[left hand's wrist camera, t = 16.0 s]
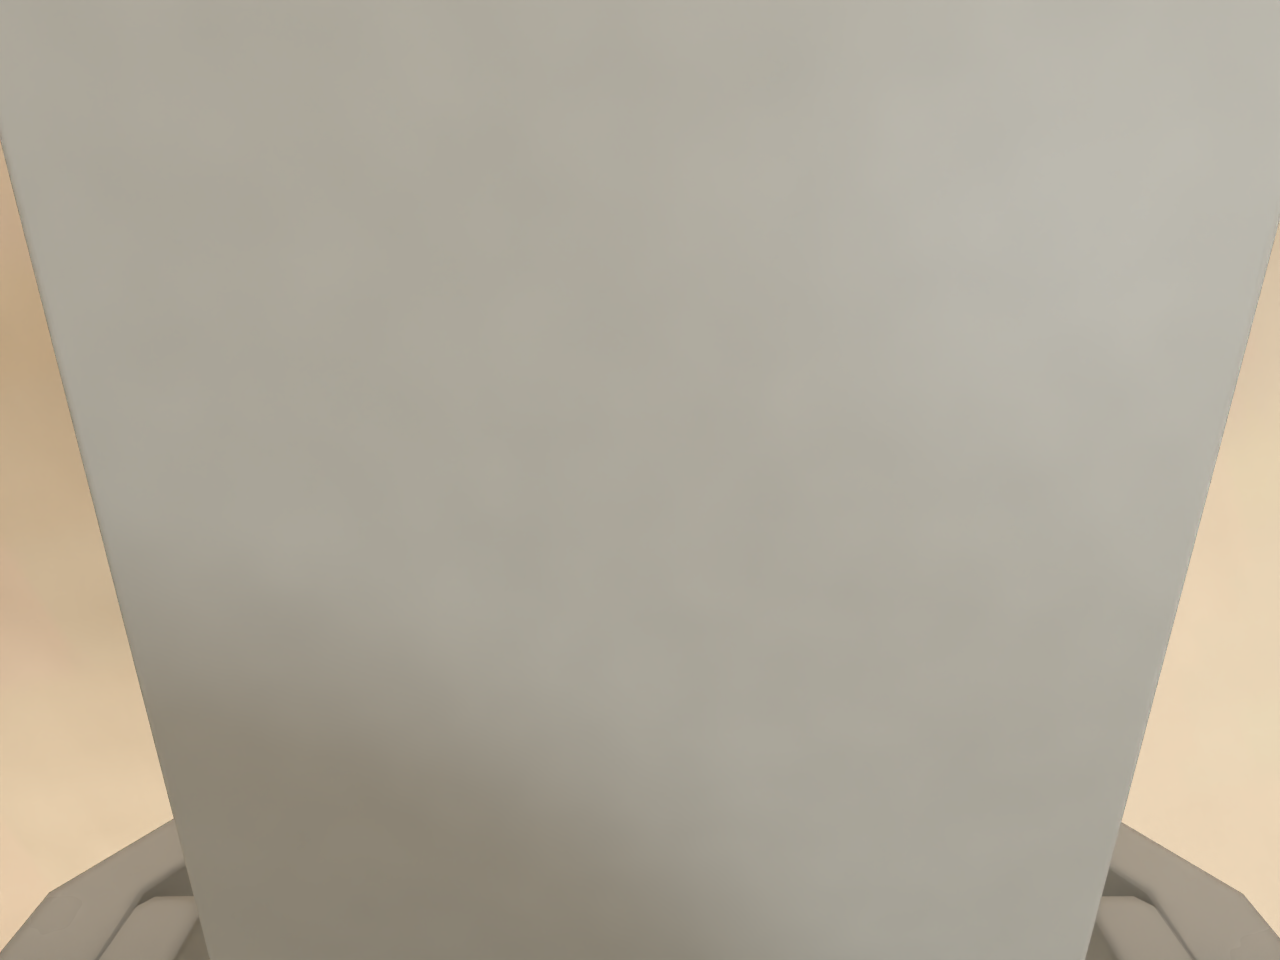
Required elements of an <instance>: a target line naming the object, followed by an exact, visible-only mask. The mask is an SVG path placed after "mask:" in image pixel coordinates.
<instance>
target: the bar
mask: <svg viewBox="0 0 1280 960" xmlns="http://www.w3.org/2000/svg"><path fill="white" fill-rule="evenodd" d="M0 141H1V145H2V149H3V153H4V156H5V160H6V164H7V168H8V172H9V176H10V180H11V184H12V188H13V192H14V196H15V199H16V203H17V207H18V211H19V215H20V219H21V223H22V227H23V231H24V235H25V239H26V242H27V246H28V250H29V254H30V258H31V262H32V266H33V270H34V274H35V278H36V282H37V285H38V289H39V293H40V297H41V301H42V305H43V309H44V313H45V317H46V321H47V325H48V328H49V332H50V336H51V340H52V344H53V348H54V352H55V356H56V360H57V364H58V368H59V371H60V375H61V379H62V383H63V387H64V391H65V395H66V399H67V403H68V407H69V411H70V414H71V418H72V422H73V426H74V430H75V434H76V438H77V442H78V446H79V450H80V454H81V457H82V461H83V465H84V469H85V473H86V477H87V481H88V485H89V489H90V493H91V497H92V500H93V504H94V508H95V512H96V516H97V520H98V524H99V528H100V532H101V536H102V540H103V543H104V547H105V551H106V555H107V559H108V563H109V567H110V571H111V575H112V579H113V583H114V586H115V590H116V594H117V598H118V602H119V606H120V610H121V614H122V618H123V622H124V626H125V629H126V633H127V637H128V641H129V645H130V649H131V653H132V657H133V661H134V665H135V669H136V672H137V676H138V680H139V684H140V688H141V692H142V696H143V700H144V704H145V708H146V712H147V715H148V719H149V723H150V727H151V731H152V735H153V739H154V743H155V747H156V751H157V755H158V759H159V762H160V766H161V770H162V774H163V778H164V782H165V786H166V790H167V794H168V798H169V802H170V805H171V809H172V813H173V817H174V821H175V825H176V829H177V833H178V837H179V841H180V845H181V848H182V852H183V856H184V860H185V864H186V868H187V872H188V876H189V880H190V884H191V888H192V891H193V895H194V899H195V903H196V907H197V911H198V915H199V919H200V923H201V927H202V931H203V934H204V938H205V942H206V946H207V950H208V954H209V958H210V960H1085V958H1086V954H1087V950H1088V946H1089V943H1090V939H1091V935H1092V931H1093V927H1094V924H1095V920H1096V916H1097V912H1098V908H1099V905H1100V901H1101V897H1102V893H1103V889H1104V886H1105V882H1106V878H1107V874H1108V870H1109V866H1110V863H1111V859H1112V855H1113V851H1114V847H1115V844H1116V840H1117V836H1118V832H1119V828H1120V825H1121V821H1122V817H1123V813H1124V809H1125V806H1126V802H1127V798H1128V794H1129V790H1130V787H1131V783H1132V779H1133V775H1134V771H1135V768H1136V764H1137V760H1138V756H1139V752H1140V749H1141V745H1142V741H1143V737H1144V733H1145V730H1146V726H1147V722H1148V718H1149V714H1150V711H1151V707H1152V703H1153V699H1154V695H1155V692H1156V688H1157V684H1158V680H1159V676H1160V672H1161V669H1162V665H1163V661H1164V657H1165V653H1166V650H1167V646H1168V642H1169V638H1170V634H1171V631H1172V627H1173V623H1174V619H1175V615H1176V612H1177V608H1178V604H1179V600H1180V596H1181V593H1182V589H1183V585H1184V581H1185V577H1186V574H1187V570H1188V566H1189V562H1190V558H1191V555H1192V551H1193V547H1194V543H1195V539H1196V536H1197V532H1198V528H1199V524H1200V520H1201V517H1202V513H1203V509H1204V505H1205V501H1206V498H1207V494H1208V490H1209V486H1210V482H1211V478H1212V475H1213V471H1214V467H1215V463H1216V459H1217V456H1218V452H1219V448H1220V444H1221V440H1222V437H1223V433H1224V429H1225V425H1226V421H1227V418H1228V414H1229V410H1230V406H1231V402H1232V399H1233V395H1234V391H1235V387H1236V383H1237V380H1238V376H1239V372H1240V368H1241V364H1242V361H1243V357H1244V353H1245V349H1246V345H1247V342H1248V338H1249V334H1250V330H1251V326H1252V323H1253V319H1254V315H1255V311H1256V307H1257V304H1258V300H1259V296H1260V292H1261V288H1262V284H1263V281H1264V277H1265V273H1266V269H1267V265H1268V262H1269V258H1270V254H1271V250H1272V246H1273V243H1274V239H1275V235H1276V231H1277V227H1278V224H1279V220H1280V0H0Z"/></svg>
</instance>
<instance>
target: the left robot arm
mask: <svg viewBox="0 0 1280 960" xmlns="http://www.w3.org/2000/svg"><path fill="white" fill-rule="evenodd" d="M0 960H210V958H209V954H208V950H207V946H206V942H205V938H204V934H203V931H202V927H201V923H200V919H199V915H198V911H197V907H196V903H195V899H194V895H193V891H192V888H191V884H190V880H189V876H188V872H187V868H186V864H185V860H184V856H183V852H182V848H181V845H180V841H179V837H178V833H177V829H176V825H175V821H174V819H172V820H171V821H169V822H167V823H166V824H164V825H162V826H160V827H159V828H157V829H155V830H154V831H152V832H150V833H149V834H147V835H145V836H144V837H142V838H140V839H139V840H137V841H135V842H134V843H132V844H130V845H129V846H127V847H125V848H123V849H122V850H120V851H118V852H117V853H115V854H113V855H112V856H110V857H108V858H107V859H105V860H103V861H102V862H100V863H98V864H97V865H95V866H93V867H91V868H90V869H88V870H86V871H85V872H83V873H81V874H80V875H78V876H76V877H75V878H73V879H71V880H70V881H68V882H66V883H65V884H63V885H61V886H60V887H58V888H56V889H54V890H53V891H51V892H49V894H48V895H47V896H46V897H45V898H44V900H43V901H42V902H41V903H40V905H39V906H38V907H37V908H36V909H35V911H34V912H33V913H32V914H31V915H30V917H29V918H28V919H27V920H26V922H25V923H24V924H23V925H22V926H21V928H20V929H19V930H18V931H17V933H16V934H15V935H14V936H13V937H12V939H11V940H10V941H9V942H8V944H7V945H6V946H5V947H4V948H3V950H2V951H1V952H0ZM1085 960H1280V938H1279V937H1278V936H1277V934H1276V933H1275V932H1274V931H1273V930H1272V928H1271V927H1270V926H1269V925H1268V924H1267V922H1266V921H1265V920H1264V919H1263V918H1262V916H1261V915H1260V914H1259V913H1258V912H1257V910H1256V909H1255V908H1254V907H1253V905H1252V904H1251V903H1250V902H1249V901H1248V899H1247V898H1246V897H1245V896H1244V895H1243V894H1242V893H1240V892H1239V891H1237V890H1235V889H1234V888H1232V887H1230V886H1229V885H1227V884H1225V883H1224V882H1222V881H1220V880H1218V879H1217V878H1215V877H1213V876H1212V875H1210V874H1208V873H1207V872H1205V871H1203V870H1202V869H1200V868H1198V867H1196V866H1195V865H1193V864H1191V863H1190V862H1188V861H1186V860H1185V859H1183V858H1181V857H1180V856H1178V855H1176V854H1174V853H1173V852H1171V851H1169V850H1168V849H1166V848H1164V847H1163V846H1161V845H1159V844H1158V843H1156V842H1154V841H1152V840H1151V839H1149V838H1147V837H1146V836H1144V835H1142V834H1141V833H1139V832H1137V831H1135V830H1134V829H1132V828H1130V827H1129V826H1127V825H1125V824H1124V823H1122V822H1121V825H1120V828H1119V832H1118V836H1117V840H1116V844H1115V847H1114V851H1113V855H1112V859H1111V863H1110V866H1109V870H1108V874H1107V878H1106V882H1105V886H1104V889H1103V893H1102V897H1101V901H1100V905H1099V908H1098V912H1097V916H1096V920H1095V924H1094V927H1093V931H1092V935H1091V939H1090V943H1089V946H1088V950H1087V954H1086V958H1085Z"/></svg>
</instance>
